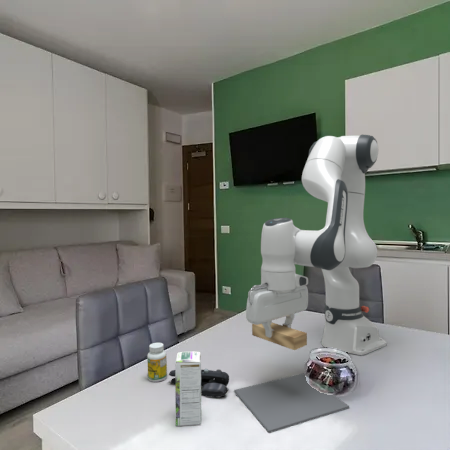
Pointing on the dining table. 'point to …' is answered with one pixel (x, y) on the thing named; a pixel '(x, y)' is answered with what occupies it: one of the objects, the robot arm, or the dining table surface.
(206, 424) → the dining table surface
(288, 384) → the rubber mat
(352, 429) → the dining table surface
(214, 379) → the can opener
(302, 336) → the wooden rectangular block
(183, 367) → the syrup box
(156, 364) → the supplement bottle
